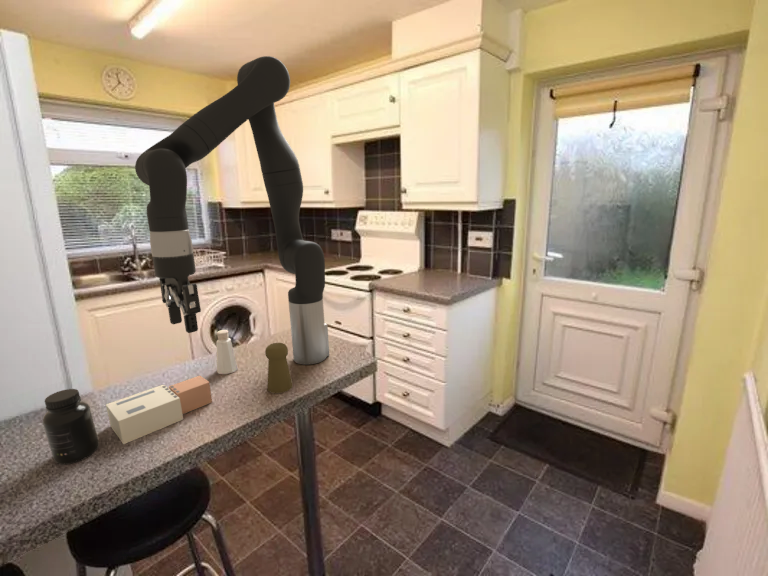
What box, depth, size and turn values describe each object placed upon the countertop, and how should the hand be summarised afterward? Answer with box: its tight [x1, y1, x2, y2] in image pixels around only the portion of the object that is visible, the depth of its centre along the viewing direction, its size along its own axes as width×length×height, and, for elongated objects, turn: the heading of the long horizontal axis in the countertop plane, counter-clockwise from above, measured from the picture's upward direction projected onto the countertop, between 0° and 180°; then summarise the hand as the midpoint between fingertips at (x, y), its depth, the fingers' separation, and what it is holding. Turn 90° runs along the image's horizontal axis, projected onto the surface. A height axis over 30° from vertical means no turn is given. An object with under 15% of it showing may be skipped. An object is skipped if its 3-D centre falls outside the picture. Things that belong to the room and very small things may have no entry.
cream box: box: [105, 384, 184, 445], centre depth 82 cm, size 11×9×5 cm
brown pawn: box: [264, 342, 294, 394], centre depth 95 cm, size 6×6×11 cm
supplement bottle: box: [42, 388, 100, 465], centre depth 72 cm, size 7×7×12 cm
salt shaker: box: [215, 329, 239, 375], centre depth 104 cm, size 5×5×11 cm
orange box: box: [168, 375, 213, 415], centre depth 88 cm, size 7×5×5 cm
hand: (184, 327), depth 85 cm, fingers open, 8 cm apart
